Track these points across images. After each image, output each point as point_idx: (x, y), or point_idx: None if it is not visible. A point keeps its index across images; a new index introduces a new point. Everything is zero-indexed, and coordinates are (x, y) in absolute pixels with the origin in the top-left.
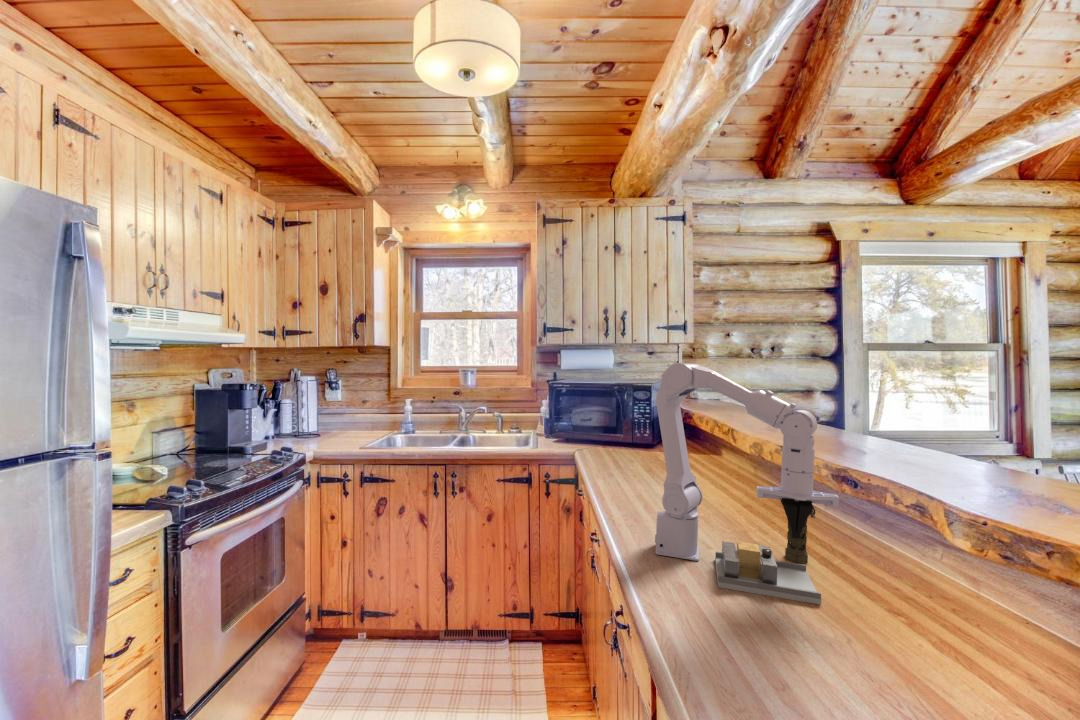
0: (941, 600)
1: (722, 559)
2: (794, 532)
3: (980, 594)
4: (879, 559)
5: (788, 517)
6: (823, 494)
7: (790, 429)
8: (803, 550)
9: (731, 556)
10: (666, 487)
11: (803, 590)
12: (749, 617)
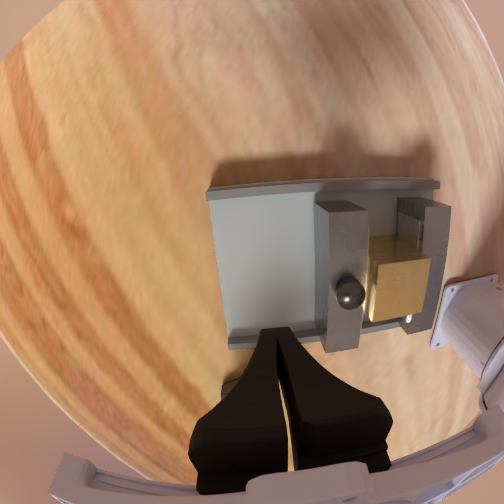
0: (33, 316)
1: None
2: (285, 336)
3: (13, 349)
4: (114, 421)
5: (333, 376)
6: None
7: None
8: None
9: (435, 239)
10: None
11: (249, 191)
12: (368, 63)
